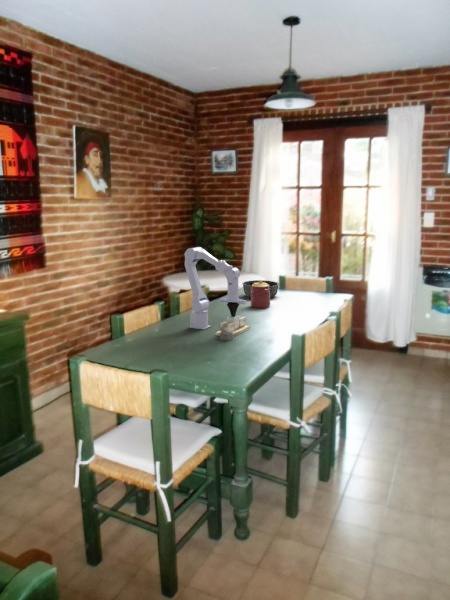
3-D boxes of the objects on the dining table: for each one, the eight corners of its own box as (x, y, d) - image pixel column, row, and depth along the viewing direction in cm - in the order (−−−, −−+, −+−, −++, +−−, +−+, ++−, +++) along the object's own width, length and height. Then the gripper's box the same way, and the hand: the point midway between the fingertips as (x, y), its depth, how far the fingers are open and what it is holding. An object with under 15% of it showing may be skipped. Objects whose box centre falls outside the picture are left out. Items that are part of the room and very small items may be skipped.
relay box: (219, 339, 248) (219, 333, 247) (224, 337, 251) (224, 331, 251) (228, 341, 245) (228, 334, 245) (232, 339, 248) (232, 332, 248)
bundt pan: (285, 295, 359) (285, 281, 357) (268, 301, 337) (268, 287, 335) (253, 292, 372) (253, 279, 370) (235, 298, 351) (235, 284, 349)
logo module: (227, 328, 260) (227, 316, 259) (231, 326, 264) (231, 314, 263) (234, 329, 258) (234, 317, 257) (239, 327, 262) (238, 315, 261)
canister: (270, 308, 316) (271, 281, 312) (250, 308, 316) (250, 281, 312) (269, 304, 328) (269, 278, 325) (250, 304, 329) (250, 278, 325)
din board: (215, 335, 256) (215, 323, 254) (234, 326, 273) (233, 315, 271) (232, 337, 251) (232, 325, 250) (250, 328, 268) (250, 317, 267)
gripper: (217, 291, 257) (217, 316, 260) (241, 293, 250) (242, 319, 253) (223, 289, 263) (224, 313, 266) (248, 291, 256) (248, 316, 259)
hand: (233, 316), depth 260 cm, fingers closed, pressing on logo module
